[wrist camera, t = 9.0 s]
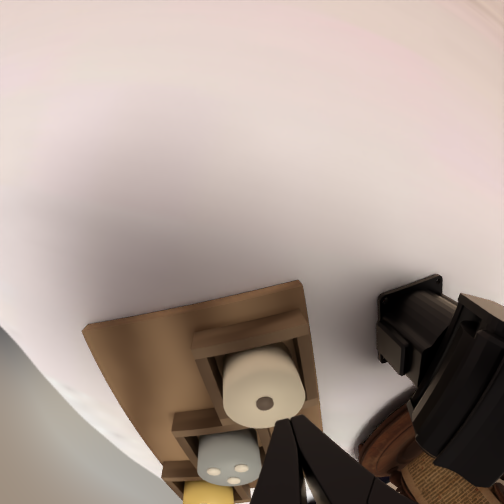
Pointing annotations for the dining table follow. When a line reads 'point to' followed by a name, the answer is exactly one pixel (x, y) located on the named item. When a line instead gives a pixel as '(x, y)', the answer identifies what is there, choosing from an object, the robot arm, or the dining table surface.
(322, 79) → the dining table surface
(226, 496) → the mustard button
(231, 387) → the cream button
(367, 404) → the dining table surface
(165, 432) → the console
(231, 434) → the slate button
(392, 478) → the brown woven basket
